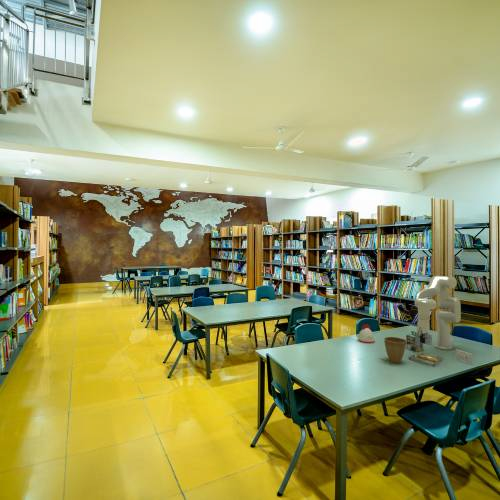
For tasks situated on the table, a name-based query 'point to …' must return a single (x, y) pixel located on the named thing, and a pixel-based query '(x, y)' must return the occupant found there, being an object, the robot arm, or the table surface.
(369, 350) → the table surface
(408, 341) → the model building
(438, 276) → the robot arm
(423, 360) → the hinge base
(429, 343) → the grey block
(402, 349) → the plant pot
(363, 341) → the cupcake
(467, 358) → the cassette
